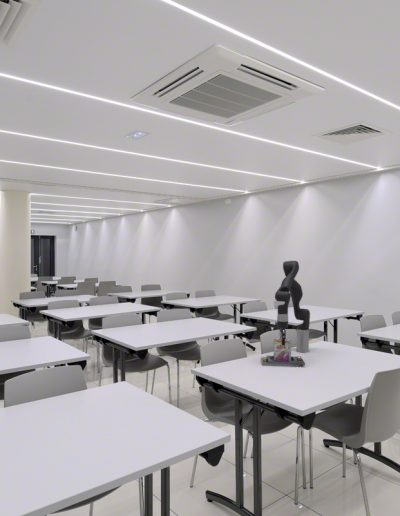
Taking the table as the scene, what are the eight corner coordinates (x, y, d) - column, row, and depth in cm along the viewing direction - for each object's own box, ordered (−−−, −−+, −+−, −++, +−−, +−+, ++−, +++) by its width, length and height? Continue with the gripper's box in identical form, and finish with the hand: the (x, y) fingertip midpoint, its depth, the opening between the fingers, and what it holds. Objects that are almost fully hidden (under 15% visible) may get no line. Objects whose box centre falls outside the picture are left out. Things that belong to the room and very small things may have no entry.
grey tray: (260, 359, 279) (261, 352, 279) (300, 361, 277) (301, 353, 277) (262, 365, 264) (262, 358, 264) (304, 367, 261) (304, 359, 261)
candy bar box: (273, 362, 271) (273, 339, 271) (275, 361, 275) (275, 337, 275) (289, 365, 265) (289, 341, 265) (291, 363, 270) (291, 339, 270)
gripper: (289, 322, 263) (289, 346, 263) (286, 318, 277) (286, 341, 277) (278, 321, 263) (278, 345, 263) (276, 318, 277) (276, 341, 278)
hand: (282, 343), depth 270 cm, fingers open, 8 cm apart
